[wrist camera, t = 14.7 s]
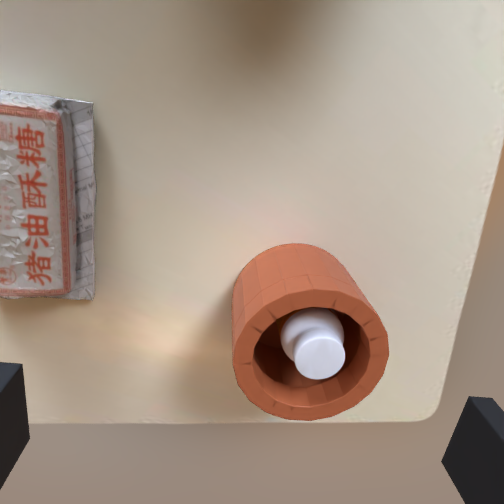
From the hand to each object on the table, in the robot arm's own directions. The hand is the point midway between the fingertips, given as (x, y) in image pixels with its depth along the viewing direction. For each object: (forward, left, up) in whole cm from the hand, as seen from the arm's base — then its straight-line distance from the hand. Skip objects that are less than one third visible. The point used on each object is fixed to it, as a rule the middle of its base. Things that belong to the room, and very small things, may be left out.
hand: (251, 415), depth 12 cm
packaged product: (+12, -13, -27) cm, 32 cm away
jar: (+4, +11, -26) cm, 29 cm away
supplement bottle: (+3, +11, -26) cm, 28 cm away
